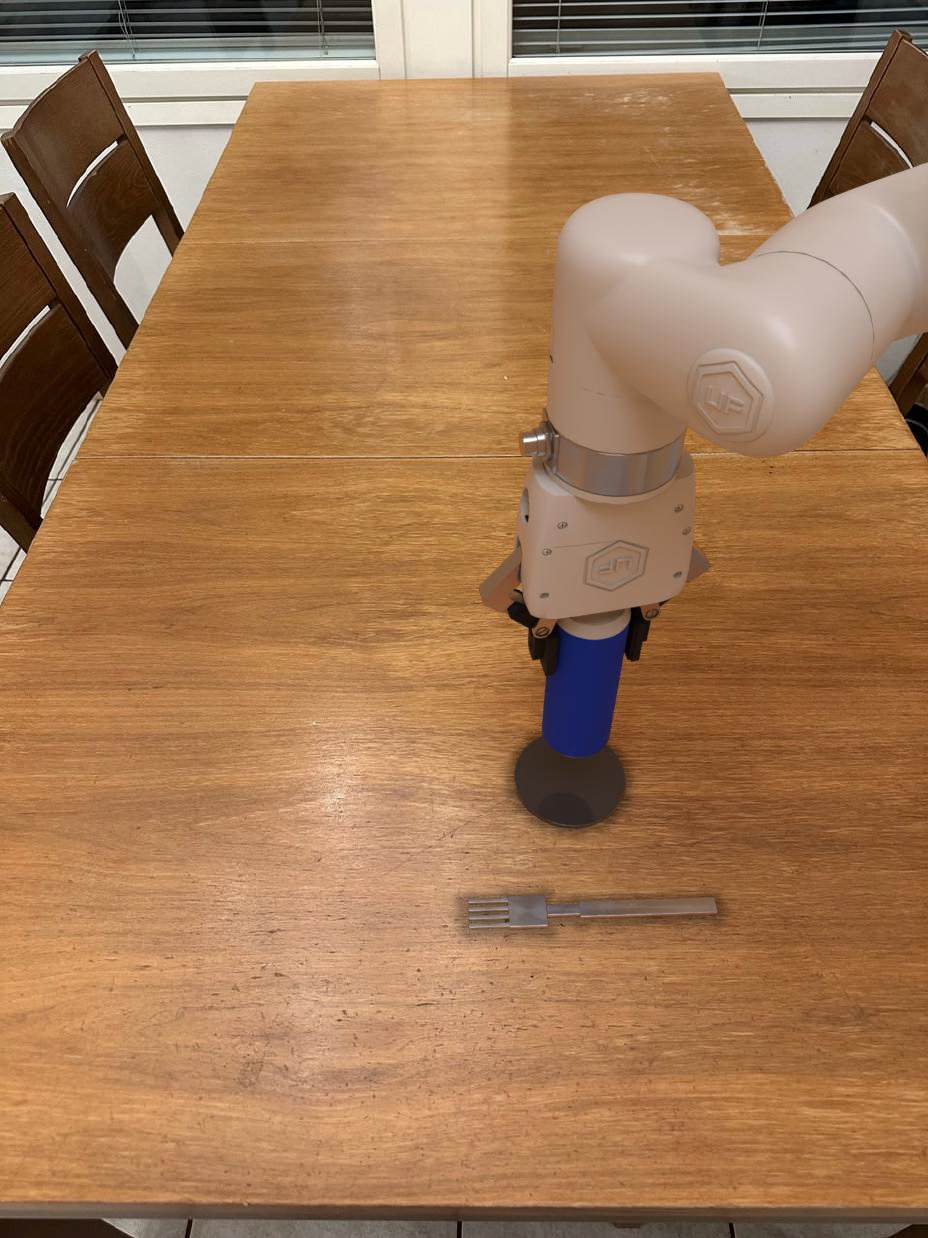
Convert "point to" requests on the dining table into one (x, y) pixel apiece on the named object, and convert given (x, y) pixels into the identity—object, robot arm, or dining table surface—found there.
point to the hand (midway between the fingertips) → (586, 651)
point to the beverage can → (585, 682)
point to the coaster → (569, 785)
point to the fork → (582, 910)
